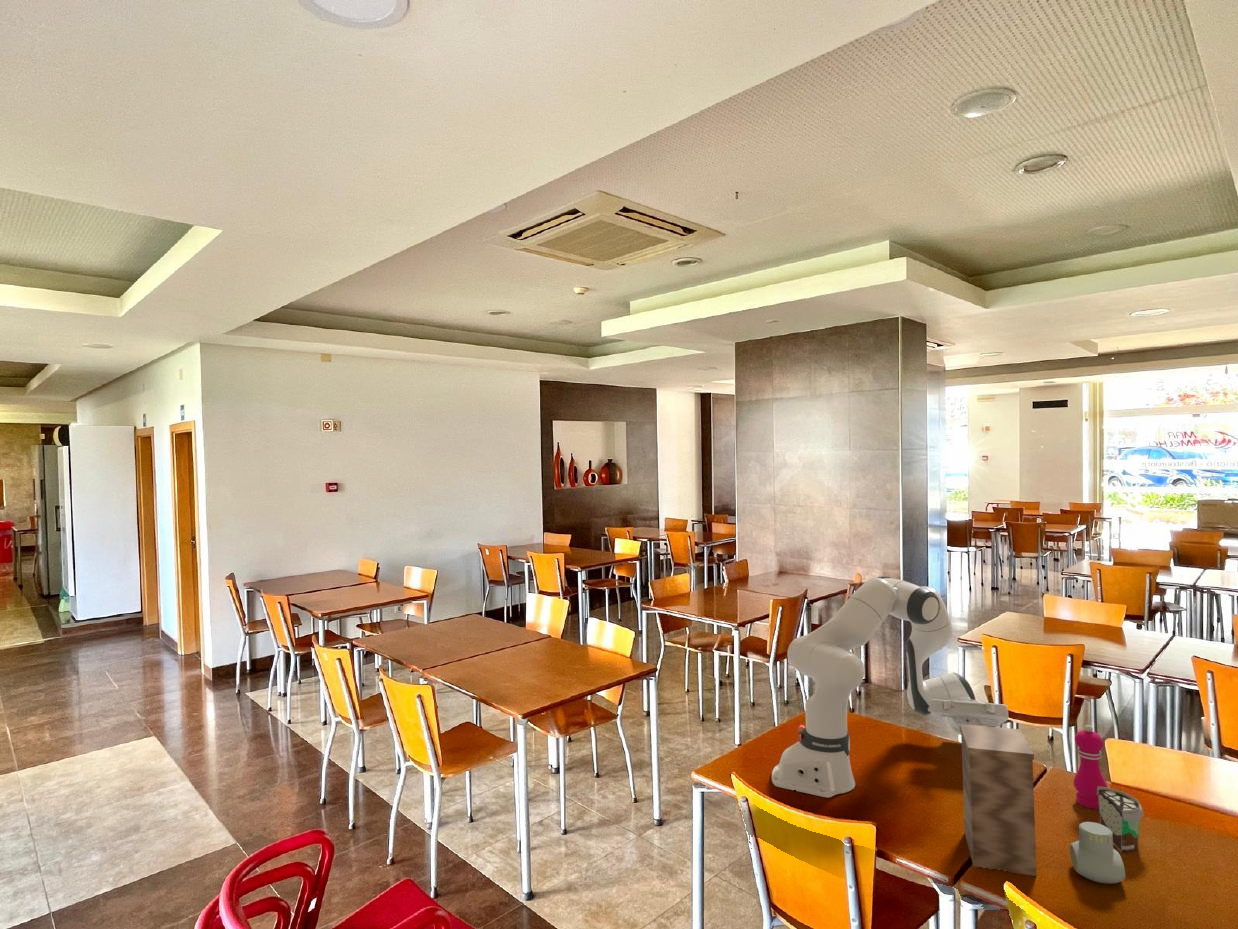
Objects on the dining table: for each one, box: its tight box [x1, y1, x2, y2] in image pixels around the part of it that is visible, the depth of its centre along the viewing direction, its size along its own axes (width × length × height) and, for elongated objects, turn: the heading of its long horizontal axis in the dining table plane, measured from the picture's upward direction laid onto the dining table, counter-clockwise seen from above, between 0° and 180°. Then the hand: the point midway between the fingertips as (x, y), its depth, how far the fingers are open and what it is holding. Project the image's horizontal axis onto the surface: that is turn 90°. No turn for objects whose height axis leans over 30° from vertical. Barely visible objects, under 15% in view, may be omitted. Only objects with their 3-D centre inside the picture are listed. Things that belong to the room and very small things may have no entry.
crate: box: [960, 724, 1038, 877], centre depth 153 cm, size 13×14×26 cm
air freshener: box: [1069, 821, 1126, 885], centre depth 144 cm, size 11×8×10 cm
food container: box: [1097, 787, 1144, 854], centre depth 156 cm, size 12×6×10 cm, turn 168°
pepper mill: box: [1073, 724, 1109, 810], centre depth 174 cm, size 7×7×20 cm
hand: (970, 704), depth 191 cm, fingers open, 8 cm apart
